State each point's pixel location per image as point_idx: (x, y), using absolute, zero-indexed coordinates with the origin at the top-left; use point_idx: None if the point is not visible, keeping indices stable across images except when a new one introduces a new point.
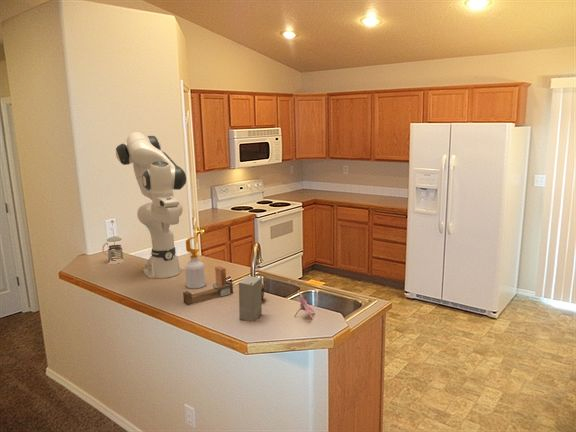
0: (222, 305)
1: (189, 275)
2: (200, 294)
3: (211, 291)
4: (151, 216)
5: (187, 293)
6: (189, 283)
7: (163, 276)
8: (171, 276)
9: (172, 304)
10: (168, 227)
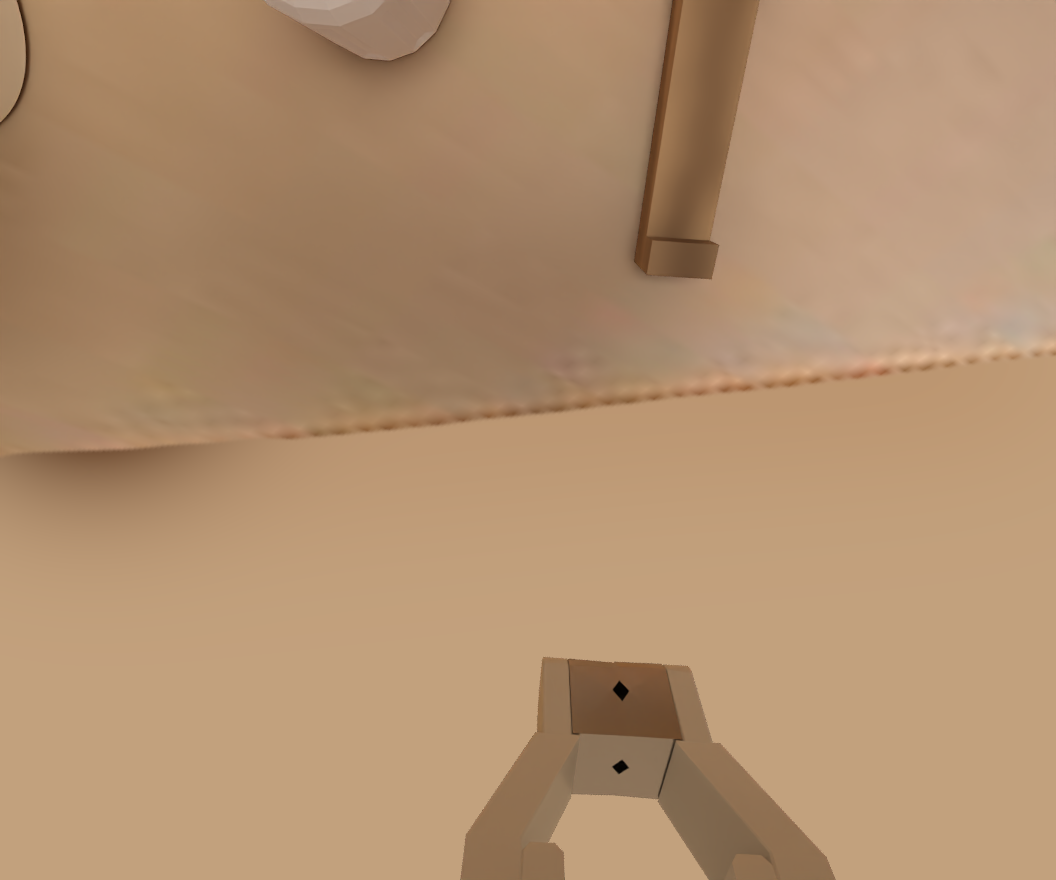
0: (895, 87)
1: (385, 30)
2: (711, 154)
3: (733, 39)
4: None
5: (699, 268)
6: (398, 48)
7: (11, 77)
8: (15, 1)
9: (600, 322)
10: (738, 782)
